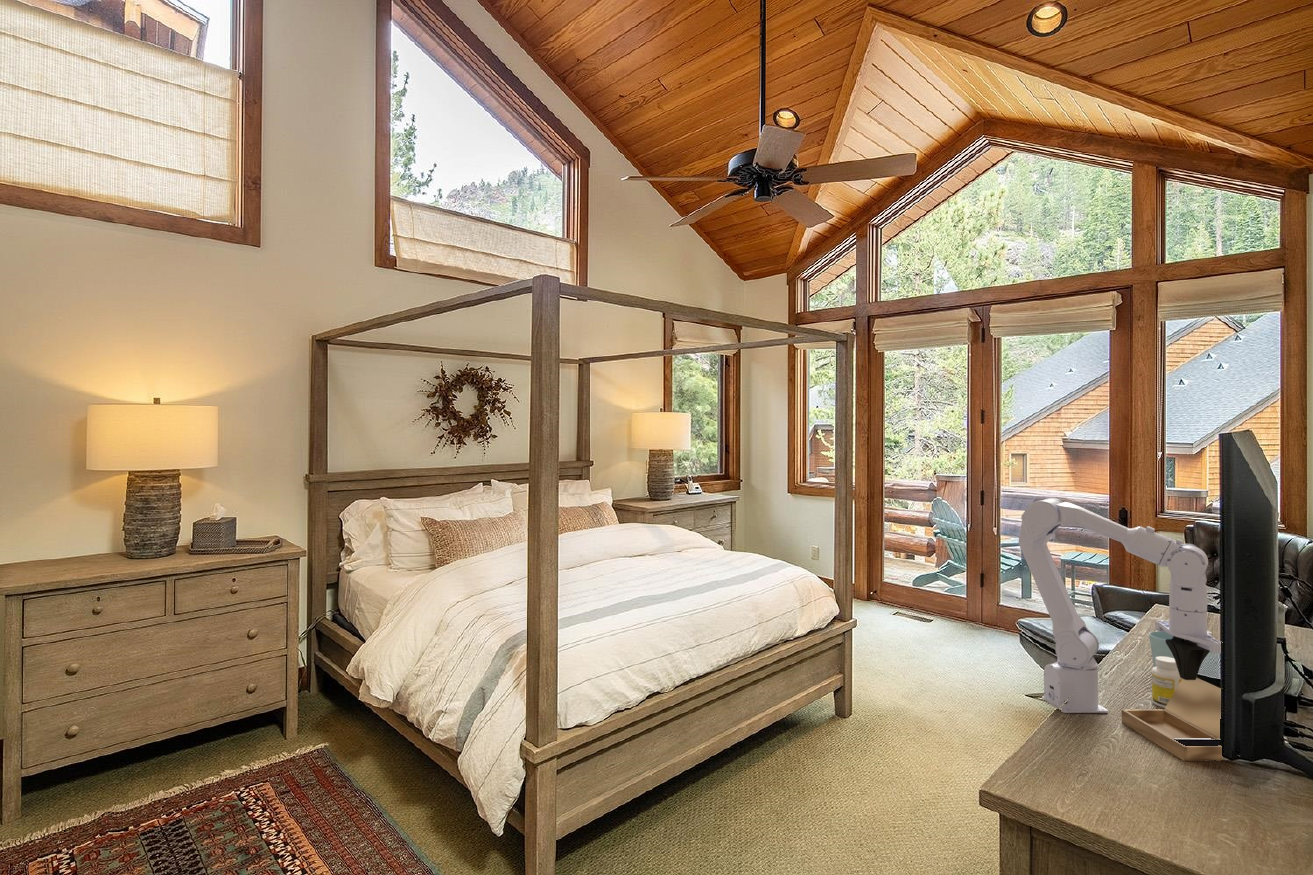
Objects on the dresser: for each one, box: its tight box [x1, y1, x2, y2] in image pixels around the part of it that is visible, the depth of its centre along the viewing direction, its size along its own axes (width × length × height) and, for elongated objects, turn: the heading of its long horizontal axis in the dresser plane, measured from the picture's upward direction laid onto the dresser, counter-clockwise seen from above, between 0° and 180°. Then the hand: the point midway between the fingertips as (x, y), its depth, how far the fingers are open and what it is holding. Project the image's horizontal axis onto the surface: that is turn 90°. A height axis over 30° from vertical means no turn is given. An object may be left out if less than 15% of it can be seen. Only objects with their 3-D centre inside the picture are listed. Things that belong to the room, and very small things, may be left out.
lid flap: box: [1164, 677, 1222, 740], centre depth 125 cm, size 8×16×1 cm
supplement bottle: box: [1151, 656, 1182, 709], centre depth 140 cm, size 5×5×10 cm
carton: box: [1121, 708, 1224, 762], centre depth 125 cm, size 8×16×2 cm, turn 179°
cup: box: [1148, 630, 1174, 668], centre depth 154 cm, size 8×8×10 cm
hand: (1187, 678), depth 128 cm, fingers closed
